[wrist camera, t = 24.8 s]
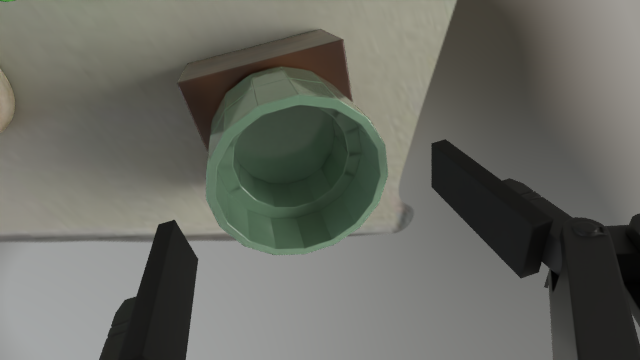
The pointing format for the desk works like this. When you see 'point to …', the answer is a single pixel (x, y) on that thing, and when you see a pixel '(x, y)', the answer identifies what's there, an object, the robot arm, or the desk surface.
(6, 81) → the stacking toy
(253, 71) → the walnut stand
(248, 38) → the desk surface
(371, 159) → the sage bowl
